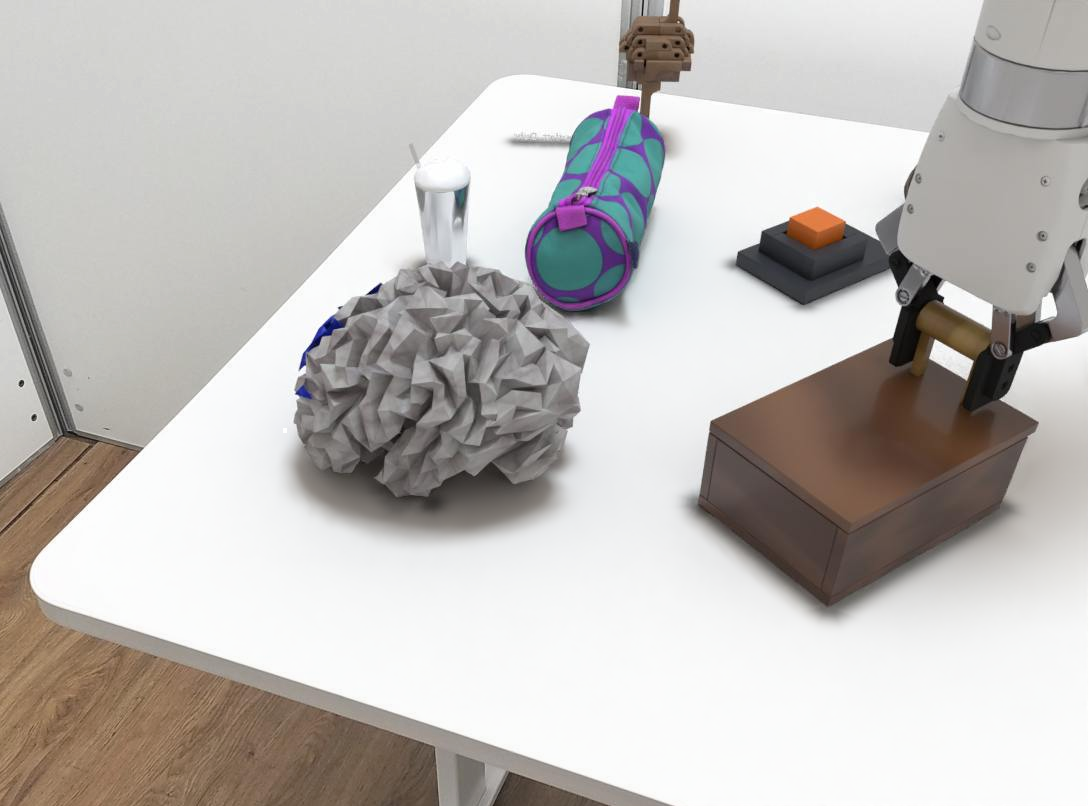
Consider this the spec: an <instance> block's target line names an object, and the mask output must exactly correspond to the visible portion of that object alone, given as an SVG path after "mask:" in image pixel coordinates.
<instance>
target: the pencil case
mask: <svg viewBox="0 0 1088 806" xmlns="http://www.w3.org/2000/svg"><path fill="white" fill-rule="evenodd" d="M640 103H641V96H635V95H624V94H623V95H621V94H617V95H616V97H615V100H614V103H613V106H612V108H610V107H609V108H605V109H601V110H597V111H595V112H593V113H591V114H589V115H588V116H586V117H585V118H584V119H582V121H580V123H579V124H578V125H577V126H576V128H575V129H574V130H573V133H572V135H571V137H570V138H571V140H570V141H569V145H568V151H567V155H566V161H565V164H564V168H563V169H564V170H563V173H562V176H561V178H560V179H559V181H558V183H557V184H556V187H555V189H554V191H553V193H552V194H551V197H550V201H549V203H548V205H547V208H545V210H544V211H542V212H541V214H540V215H539V216H538V217H537V218H536V219H535V221H534V222H533V224H532V225H531V227H530V230H529V231H528V233H527V236H526V239H525V240H526V241H525V244H524V259H525V266H526V269H527V272H528V276H529V278H530V280H531V282H532V283H533V286H534V287H535V288H536V290H537V291H538V292H539V294H540V295H541V296H542V297H543V298H544V300H546V302H549V303H550V304H551V305H553V306H555V307H557V308H559V309H561V310H564V311H567V312H576V311H578V312H579V311H584V310H585V311H586V310H589V309H592V308H595V307H598V306H601V305H603V304H605V303H608V302H610V301H611V300H613V299H615V298H616V297H617V296H619V295H620V294H621V293H622V292H623V291H624V290H625V289H626V288H627V286H628V284H629V283H630V282H631V281H630V280H631V278H632V276H633V273H634V270H637V269H638V267H639V262H640V248H641V245H642V240H643V238H644V235H645V231H646V229H647V226H648V223H649V219H650V216H651V212H652V209H653V207H654V203H655V200H656V197H657V196H656V195H657V192H658V189H659V186H660V183H661V179H662V173H663V169H664V166H665V160H666V146H665V141H664V138H663V136H662V132H661V131H660V129H659V128H658V126H657V124H655V123H654V121H652V120H651V119H650V118H649V119H648V118H646V117H645V116H643V115H642V114H640V111H639V110H640Z"/></svg>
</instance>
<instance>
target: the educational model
mask: <svg viewBox="0 0 1088 806" xmlns="http://www.w3.org/2000/svg"><path fill="white" fill-rule="evenodd" d="M417 273H418V274H417ZM417 273H416V272H415V271H413V270H411V269H410V268H400V269H399V270H398V273H397V275H396V276H394V277H392V278H391V279H389V280H388V281H386V282H384V283H383V282H379V283H378V284H377V285H375V286H374V287H372V288H371V290H369V291H368V292H367V293H366V294H364V295H357V296H351V298H350V299H348V301H346V303H344V305H341V306H337V309H338V310H337V311H336V312H335V313H334V314H332V315H331V316H329V317H328V318H327V320H325V322H323V323H322V324H321V326H319V328H318V329H317V331H316V333H315V334H314V337H313V338H312V341H311V342H310V344H308V346H307V348H306V349H305V350H304V352H302V355H301V359H300V363H299V366H298V370H297V372H300V371H301V370H302V369H303V368H304V367H305V373H303V374H301V375H299V376H298V377H297V379H296V382H295V386H294V392H295V393H294V395H295V396H298V397H299V398H297V399H296V401H295V402H296V407H297V409H296V411H295V413H294V416H293V421H292V423H293V424H294V425H295V426H296V431H297V436H298V437H299V439H300V441H301V442H302V444H303V445H304V446H303V448H304V450H305V452H306V454H307V455H308V456H310V457H311V461H312V463H313V465H314V466H315V467H317V468H318V469H320V470H321V471H324V470H326V469H329V468H331V467H332V472H334V473H335V472H336V473H340V474H352V473H353V471H354V470H355V469H356V467H357V465H358V464H359V462H360V461H362V462H364V463H366V464H367V465H368V464H369V463H371V462H372V461H374V459H375V458H377V457H378V456H379V455H381V453H383V452H384V451H385V450H386V451H388V452H387V453H386V455H385V456H384V462H383V467H382V469H381V470H380V471H379V473H378V474H377V476H374V477H373V479H374V480H376V481H378V482H379V483H380V484H382V485H385V486H386V487H387V489H388V490H389V491H390V492H391V493H392V494H393V495H394V496H395V497H396V498H402V497H408V496H417V497H426V498H429V496H430V494H431V491H432V490H433V489H435V488H438V487H441V486H442V484H443V482H444V481H445V480H447V479H450V478H451V477H453V476H456V475H458V474H460V473H462V472H464V471H465V472H466V473H468V474H470V475H472V476H473V477H476V476H477V475H478V474H479V473H480V472H481V471H482V470H483V469H484V468H485V467H487V466H488V465H489V464H490V463H491V464H493V465H495V466H496V467H497V468H498V469H499V470H500V471H501V472H502V474H503V475H504V476H505V477H506V478H507V479H508V480H509V481H510V482H511V483H512V484H513V485H516V484H520V483H523V482H527V481H534V480H536V479H537V478H539V477H540V476H541V475H542V474H543V473H545V472H546V471H547V470H549V469H550V468H551V466H552V464H553V463H554V462H555V461H557V460H558V459H559V453H558V451H560V450H563V448H564V446H565V442H566V439H567V435H568V431H569V429H571V428H573V427H574V418H575V417H576V416H577V415H578V414H580V412H581V411H582V408H581V404H580V403H581V402H580V397H579V390H580V382H581V376H582V374H583V373H584V367H585V364H586V360H587V357H588V353H589V350H590V346H591V343H590V342H589V340H587V339H586V338H585V337H584V336H583V335H582V333H581V332H580V330H579V331H578V329H577V328H576V327H575V326H574V324H572V322H571V321H569V320H568V319H567V318H565V316H563V315H562V314H561V313H559V312H557V310H555V309H553V308H552V307H551V306H549V305H548V304H546V303H545V302H544V301H543V300H541V299H540V297H539V296H538V294H537V292H536V291H535V289H534V287H532V286H531V285H530V284H529V282H526V281H522V280H517V279H515V278H511V277H509V276H507V275H504V274H503V273H502V271H501V270H500V269H496V268H490V267H484V266H475V267H470V266H469V265H467V264H466V265H464V264H462V263H460V262H458V261H457V262H456V263H455V264H454V265H453V266H452V267H451V268H450V269H449V268H448V267H447V266H446V265H445V264H444V263H443V262H442V261H441V262H438V263H436V264H433V265H432V264H431V263H430V264H425V265H422V266H420V267H417Z"/></svg>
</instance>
